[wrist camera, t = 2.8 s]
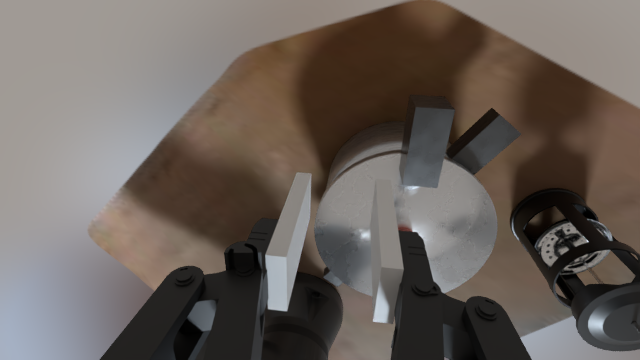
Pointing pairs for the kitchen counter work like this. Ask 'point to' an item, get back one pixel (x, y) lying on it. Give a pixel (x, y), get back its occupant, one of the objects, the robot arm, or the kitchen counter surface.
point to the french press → (583, 268)
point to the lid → (410, 204)
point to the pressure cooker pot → (467, 151)
